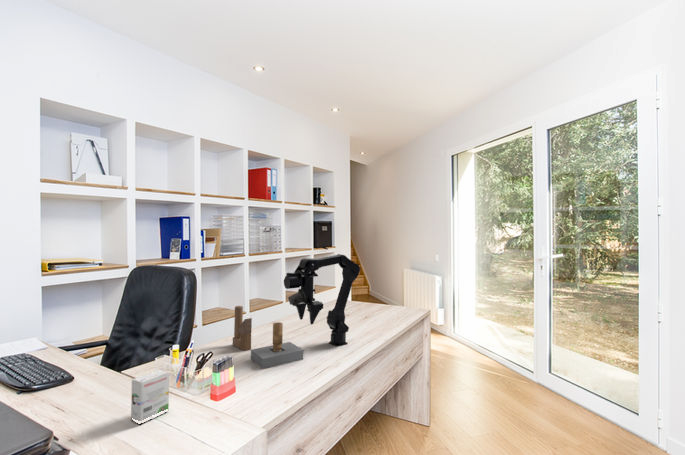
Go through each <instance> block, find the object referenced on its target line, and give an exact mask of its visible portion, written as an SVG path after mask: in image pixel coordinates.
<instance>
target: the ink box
mask: <svg viewBox="0 0 685 455" xmlns="http://www.w3.org/2000/svg"><path fill="white" fill-rule="evenodd" d="M169 393H170V372H167V371H165V370H162V369H159V370H155V371H153V372H149V373H147V374H144V375H141V376H138V377H135V378H133V379H131V397H130V398H131V404H130V406H131V407H130V410H131V411H130V412H131V413H130V419H131V418H133V419H135V420H138V421H142V420H144V419H146V418H148V417H150V416H152V415H155V414H157V413H159V412H161V411H164V410H166V409H168V410H169V404H170V403H169V402H170V394H169Z"/></svg>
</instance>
